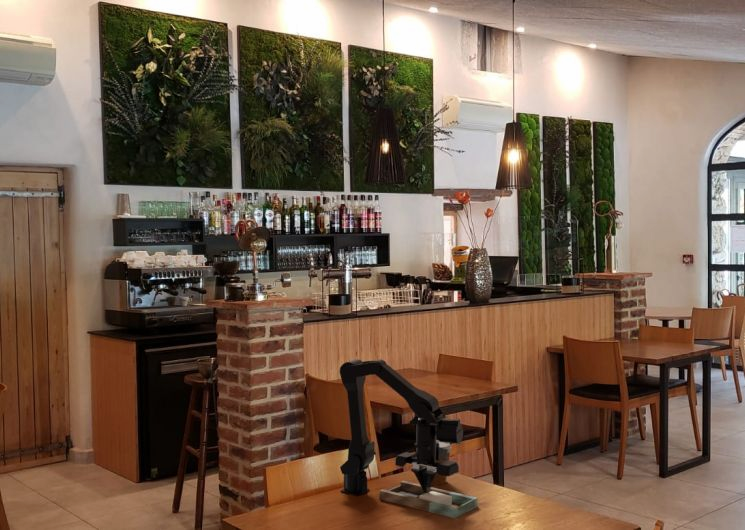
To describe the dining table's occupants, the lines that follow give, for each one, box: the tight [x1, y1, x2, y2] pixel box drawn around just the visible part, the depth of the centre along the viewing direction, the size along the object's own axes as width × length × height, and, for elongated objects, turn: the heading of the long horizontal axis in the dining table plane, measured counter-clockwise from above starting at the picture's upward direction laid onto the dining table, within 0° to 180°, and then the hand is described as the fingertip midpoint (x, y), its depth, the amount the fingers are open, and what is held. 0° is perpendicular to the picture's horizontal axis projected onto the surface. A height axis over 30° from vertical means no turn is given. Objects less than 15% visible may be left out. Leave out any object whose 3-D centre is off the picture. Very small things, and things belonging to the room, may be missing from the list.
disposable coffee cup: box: [430, 439, 452, 485], centre depth 255 cm, size 10×10×12 cm
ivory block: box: [418, 491, 453, 506], centre depth 233 cm, size 7×6×4 cm
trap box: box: [379, 480, 479, 519], centre depth 236 cm, size 26×12×2 cm, turn 52°
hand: (426, 493), depth 236 cm, fingers closed
